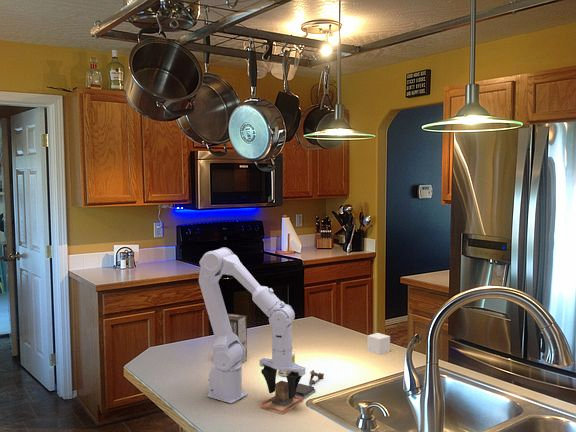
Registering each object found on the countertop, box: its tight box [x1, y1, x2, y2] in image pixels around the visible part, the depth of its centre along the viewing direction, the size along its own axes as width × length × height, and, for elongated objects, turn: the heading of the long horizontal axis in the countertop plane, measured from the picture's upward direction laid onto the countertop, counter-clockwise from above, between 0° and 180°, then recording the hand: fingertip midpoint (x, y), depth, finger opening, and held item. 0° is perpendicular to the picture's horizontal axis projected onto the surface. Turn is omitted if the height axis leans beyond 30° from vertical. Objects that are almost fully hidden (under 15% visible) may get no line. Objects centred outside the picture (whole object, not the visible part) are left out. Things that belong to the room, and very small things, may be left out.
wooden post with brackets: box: [308, 369, 325, 386], centre depth 173 cm, size 2×8×4 cm, turn 150°
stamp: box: [272, 380, 293, 407], centre depth 156 cm, size 4×4×6 cm
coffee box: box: [227, 313, 248, 364], centre depth 192 cm, size 9×6×16 cm
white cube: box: [366, 332, 391, 356], centre depth 204 cm, size 6×6×6 cm
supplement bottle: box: [277, 344, 296, 377], centre depth 180 cm, size 5×5×10 cm
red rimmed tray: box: [259, 395, 304, 415], centre depth 156 cm, size 8×11×1 cm
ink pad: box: [295, 382, 316, 400], centre depth 164 cm, size 6×7×2 cm
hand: (281, 394), depth 156 cm, fingers open, 6 cm apart
